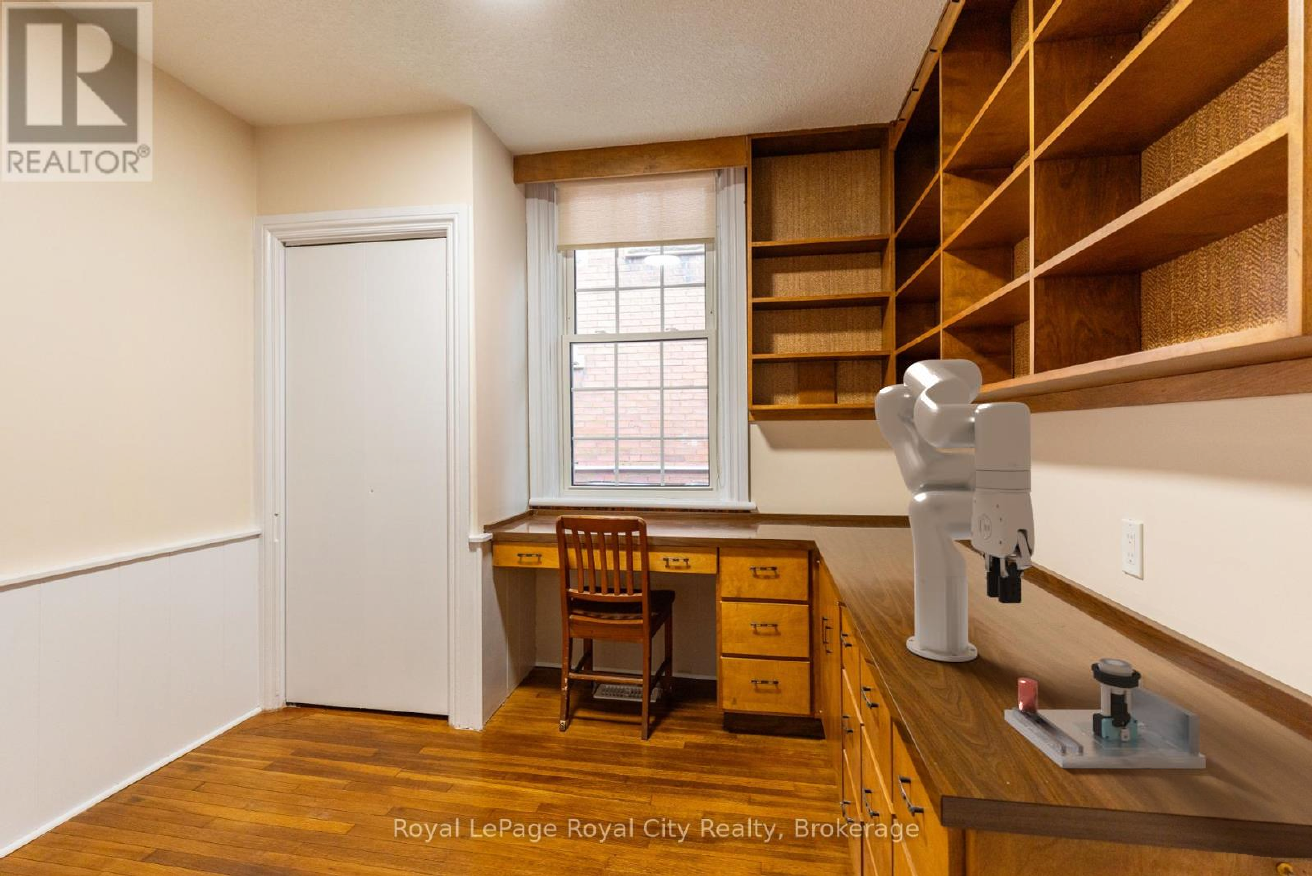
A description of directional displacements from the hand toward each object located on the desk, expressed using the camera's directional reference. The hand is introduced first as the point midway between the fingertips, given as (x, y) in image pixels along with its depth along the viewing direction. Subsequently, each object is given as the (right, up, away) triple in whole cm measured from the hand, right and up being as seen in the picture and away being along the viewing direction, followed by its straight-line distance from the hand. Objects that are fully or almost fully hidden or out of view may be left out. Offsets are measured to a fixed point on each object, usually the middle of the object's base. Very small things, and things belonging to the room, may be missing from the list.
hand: (1003, 598), depth 92 cm
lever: (0, -15, -6) cm, 17 cm away
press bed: (+7, -17, -10) cm, 21 cm away
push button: (+9, -16, -12) cm, 22 cm away
